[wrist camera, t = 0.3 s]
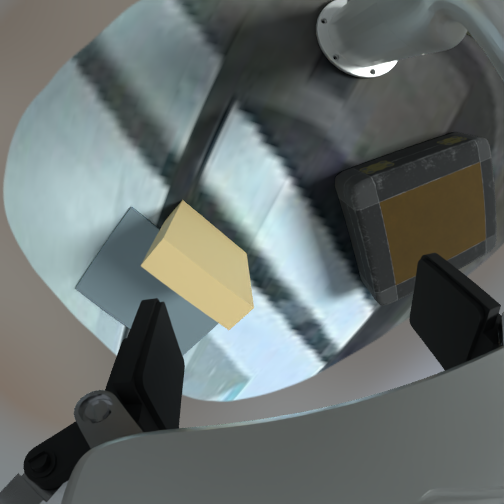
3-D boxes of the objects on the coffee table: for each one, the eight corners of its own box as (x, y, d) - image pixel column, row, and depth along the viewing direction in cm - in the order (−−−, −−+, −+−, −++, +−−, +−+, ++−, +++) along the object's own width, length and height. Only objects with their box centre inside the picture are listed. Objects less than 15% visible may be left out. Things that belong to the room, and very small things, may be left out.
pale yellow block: (182, 199, 42) (163, 238, 29) (246, 253, 46) (253, 307, 33) (163, 222, 43) (138, 267, 31) (226, 272, 47) (227, 331, 35)
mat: (131, 206, 42) (131, 207, 42) (245, 296, 49) (245, 298, 49) (76, 287, 46) (75, 288, 46) (177, 358, 54) (177, 359, 53)
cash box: (361, 288, 51) (379, 314, 44) (329, 174, 42) (349, 186, 35) (472, 235, 48) (498, 252, 41) (459, 129, 40) (490, 135, 33)
